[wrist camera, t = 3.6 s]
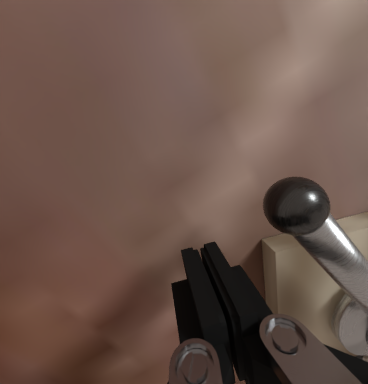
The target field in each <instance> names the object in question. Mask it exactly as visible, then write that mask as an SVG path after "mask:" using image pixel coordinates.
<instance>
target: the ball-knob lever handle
mask: <svg viewBox="0 0 368 384" xmlns="http://www.w3.org/2000/svg"><path fill="white" fill-rule="evenodd" d="M263 210H264V214H265V216H266V218H267V220H268V221H269V223H270V224H271V225H272V226H273V227H274V228H276V229H277V230H279V231H280V232H283V233H285V234H289V235H292V236H293V237H294V238H295V239H296V240H297V241H298V242H299V243H300V245H301V246H302V247H303V248H304V249H305V250H306V251H307V252H308V253H309V254H310V255H311V256H312V257H313V259H314V260H315V261H316V262H317V263H318V264H319V265H320V266H321V267H322V268H323V269H324V270H325V271H326V273H327V274H328V275H329V276H330V277H331V278H332V279H333V280H334V281H335V282H336V283H337V284H338V285H339V286H340V288H341V289H342V290H343V291H344V292H345V293H346V294H345V295H344V296H343V297H342V299H341V300H340V301H339V303H338V305H337V306H336V308H335V310H334V313H333V316H332V320H331V328H332V332H333V334H334V336H335V337H336V338H337V339H338V340H339V341H340V343H341V344H342V345H343V346H344V347H345V348H346V349H347V350H348V351H349V352H351V353H353V354H355V355H362V356H363V355H368V261H367V260H366V259H365V257H364V256H363V255H362V253H361V252H360V251H359V250H358V248H357V247H356V246H355V244H354V243H353V242H352V241H351V239H350V238H349V237H348V235H347V234H346V233H345V232H344V230H343V229H342V228H341V226H340V225H339V224H338V223H337V221H336V220H335V219H334V218H333V216H332V215H331V214H330V201H329V198H328V196H327V194H326V192H325V191H324V189H323V188H322V187H321V186H320V185H319V184H317V183H316V182H314V181H312V180H310V179H307V178H303V177H288V178H284V179H281V180H279V181H277V182H276V183H274V184H273V185H272V186H271V187H270V188H269V189H268V191H267V192H266V194H265V197H264V201H263Z"/></svg>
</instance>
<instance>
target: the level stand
mask: <svg viewBox="0 0 368 384" xmlns="http://www.w3.org/2000/svg"><path fill="white" fill-rule="evenodd" d="M336 221H337V223H338V224H339V225H340V226H341V228H342V229H343V230H344V232H345V233H346V234H347V235H348V237H349V238H350V239H351V241H352V242H353V243H354V244H355V246H356V247H357V248H358V250H359V251H360V252H361V253H362V255H363V256H364V257H365V259H366V260H367V261H368V212H365V213H361V214H357V215H353V216H349V217H345V218H341V219H338V220H336ZM262 252H263V267H264V283H265V298H266V304H267V305H268V307H269V308H270V309H271V311H272V312H273V314H285V315H289V316H291V317H293V318H295V319H297V320H298V321H300V322H301V323H302V324H303V325H304V326H305V327H306V328H307V329H308V330H309V331H310V332H311V333H312V334H313V335H314V336H315V337H316V338H317V339H318V340H319V341H320V342H321V343H322V344H325V345H327V346H330V347H332V348H335V349H337V350H340V351H342V352H345V353H347V354H349V355H352V356H354V357H357V358H359V359H362V360H364V361H367V362H368V355H363V356H362V355H355V354H353V353H351V352H349V351H348V350H347V349H346V348H345V347H344V346H343V345H342V344H341V343H340V341H339V340H338V339H337V338H336V337H335V336H334V334H333V332H332V328H331V320H332V316H333V313H334V310H335V308H336V306H337V305H338V303H339V301H340V300H341V299H342V297H343V296H344V295H345V294H346V293H345V292H344V291H343V290H342V289H341V288H340V286H339V285H338V284H337V283H336V282H335V281H334V280H333V279H332V278H331V277H330V276H329V275H328V274H327V273H326V271H325V270H324V269H323V268H322V267H321V266H320V265H319V264H318V263H317V262H316V261H315V260H314V259H313V257H312V256H311V255H310V254H309V253H308V252H307V251H306V250H305V249H304V248H303V247H302V246H301V245H300V243H299V242H298V241H297V240H296V239H295V238H294V237H293V236H292V235H289V234H285V233H284V234H280V235H276V236H272V237H268V238H264V239H262Z"/></svg>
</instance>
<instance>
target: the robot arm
mask: <svg viewBox="0 0 368 384" xmlns="http://www.w3.org/2000/svg"><path fill="white" fill-rule="evenodd" d="M200 250H201V256H202V260H201V257H200V255H199V252H198V250H197V249H196V250H193V248H188V249H184V250H181V253H182V258H183V262H184V267H185V272H186V276H187V279H186V280H182V281H178V282H174V283H171V285H172V292H173V299H174V306H175V312H176V319H177V326H178V333H179V340H180V345H179V346H178V347H177V348H176V349H175V351H174V353H173V355H172V357H171V360H170V366H169V381H168V383H167V384H234V383H235V376H234V369H233V365H234V368H235V371H236V373H237V376H238V379H239V381H242V380H245V382H246V384H368V362H367V361H364V360H362V359H359V358H357V357H354V356H352V355H349V354H347V353H345V352H342V351H340V350H337V349H335V348H332V347H330V346H327V345H325V344H322V343H321V342H320V341H319V340H318V339H317V338H316V337H315V336H314V335H313V334H312V333H311V332H310V331H309V330H308V329H307V328H306V327H305V326H304V325H303V324H302V323H301V322H300V321H298V320H297V319H295V318H293V317H291V316H289V315H285V314H273V312H272V311H271V309H270V308H269V307H268V305H267V304H266V302H265V301H264V299H263V298H262V296H261V295H260V293H259V292H258V290H257V289H256V287H255V286H254V285H253V283H252V282H251V280H250V279H249V277H248V276H247V274H246V273H245V271H244V270H243V268H242V267H241V266H240V265H238V266H234V267H230V265H229V264H228V262H227V260H226V259H225V257H224V255H223V254H222V252H221V250H220V249H219V247H218V245H217V244H216V242H211V243H207V244H204V248H201V249H200ZM232 362H233V363H232Z"/></svg>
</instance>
